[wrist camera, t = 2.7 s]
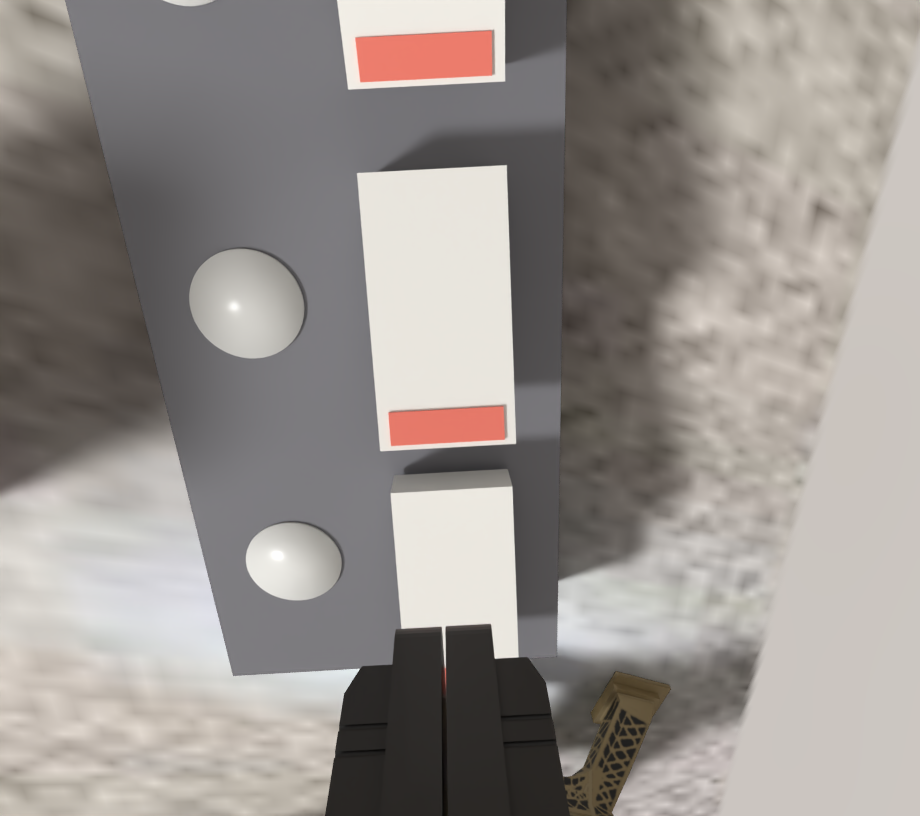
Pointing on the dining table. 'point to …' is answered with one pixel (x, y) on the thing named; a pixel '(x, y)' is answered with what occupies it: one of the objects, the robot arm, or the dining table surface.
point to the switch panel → (316, 299)
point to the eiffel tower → (614, 743)
